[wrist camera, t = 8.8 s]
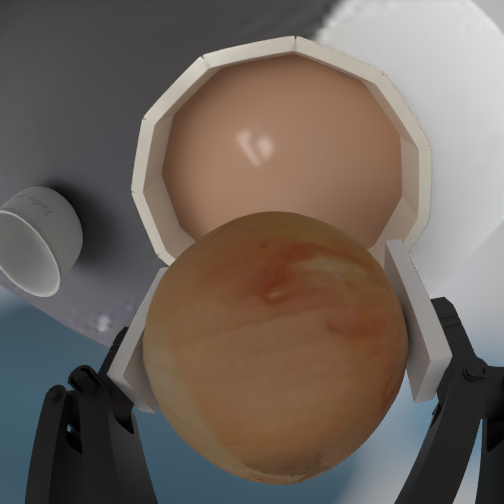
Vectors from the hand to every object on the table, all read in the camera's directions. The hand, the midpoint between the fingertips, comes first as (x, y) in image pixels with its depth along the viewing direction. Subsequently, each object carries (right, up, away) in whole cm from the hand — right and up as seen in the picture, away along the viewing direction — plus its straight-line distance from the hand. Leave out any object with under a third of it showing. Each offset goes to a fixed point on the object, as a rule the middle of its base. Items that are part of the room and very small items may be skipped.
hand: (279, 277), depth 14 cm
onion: (0, +1, +1) cm, 1 cm away
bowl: (+1, +8, +11) cm, 13 cm away
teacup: (-25, +5, +16) cm, 30 cm away
